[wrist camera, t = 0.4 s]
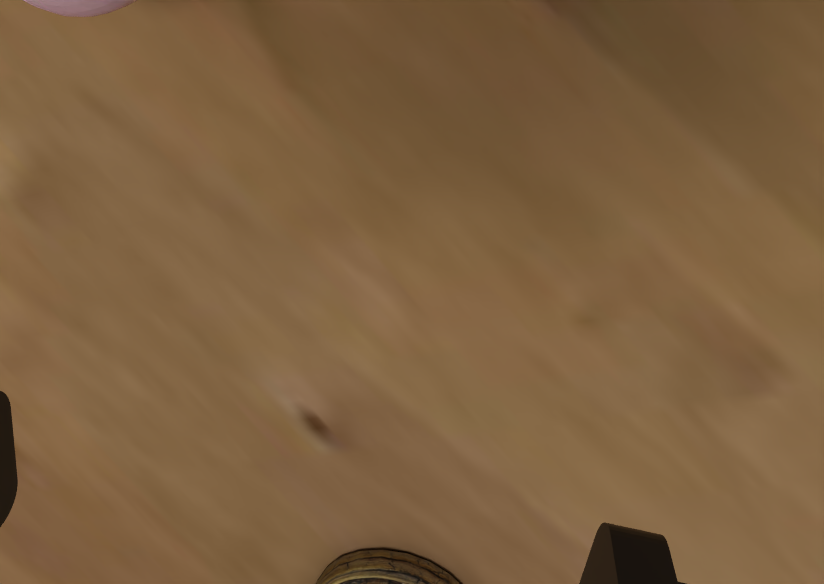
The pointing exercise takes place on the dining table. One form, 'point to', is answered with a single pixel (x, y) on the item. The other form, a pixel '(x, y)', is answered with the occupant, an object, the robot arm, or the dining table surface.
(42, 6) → the decorative fruit
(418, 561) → the wooden mug
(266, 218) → the dining table surface
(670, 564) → the robot arm
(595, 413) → the dining table surface
